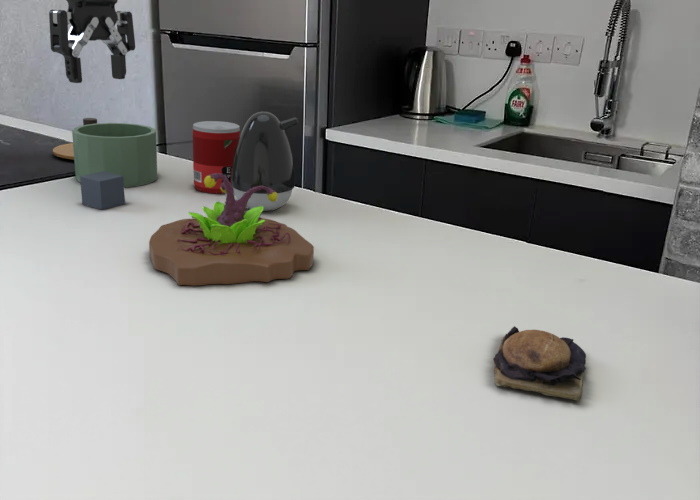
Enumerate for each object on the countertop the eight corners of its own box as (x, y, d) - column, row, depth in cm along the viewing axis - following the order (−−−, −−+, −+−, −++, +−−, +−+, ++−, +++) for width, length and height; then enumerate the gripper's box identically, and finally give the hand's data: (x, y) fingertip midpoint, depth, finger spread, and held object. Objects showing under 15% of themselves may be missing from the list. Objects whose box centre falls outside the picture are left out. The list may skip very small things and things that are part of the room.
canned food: (231, 196, 115) (231, 130, 111) (186, 191, 116) (184, 126, 112) (245, 185, 122) (246, 123, 118) (203, 180, 123) (202, 119, 119)
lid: (64, 165, 126) (60, 127, 124) (45, 150, 137) (41, 114, 135) (140, 160, 135) (138, 123, 132) (116, 145, 145) (115, 111, 143)
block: (101, 210, 103) (99, 181, 101) (81, 204, 105) (79, 175, 104) (125, 204, 107) (123, 176, 105) (105, 198, 109) (103, 170, 107)
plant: (135, 239, 92) (131, 157, 88) (271, 226, 101) (273, 151, 97) (170, 296, 75) (168, 199, 72) (329, 275, 84) (334, 187, 80)
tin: (89, 190, 112) (85, 139, 109) (67, 172, 122) (63, 124, 119) (168, 183, 120) (167, 134, 117) (141, 166, 130) (139, 121, 127)
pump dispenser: (300, 215, 107) (304, 118, 102) (233, 216, 104) (233, 116, 99) (289, 197, 116) (292, 107, 111) (227, 198, 113) (227, 105, 108)
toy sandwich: (584, 407, 60) (592, 370, 58) (487, 386, 62) (493, 350, 60) (583, 352, 69) (590, 319, 68) (499, 336, 71) (504, 304, 70)
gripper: (108, -28, 109) (115, 75, 115) (30, -35, 97) (42, 81, 103) (143, -27, 106) (148, 80, 111) (66, -34, 94) (77, 86, 100)
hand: (97, 80), depth 107 cm, fingers open, 8 cm apart
